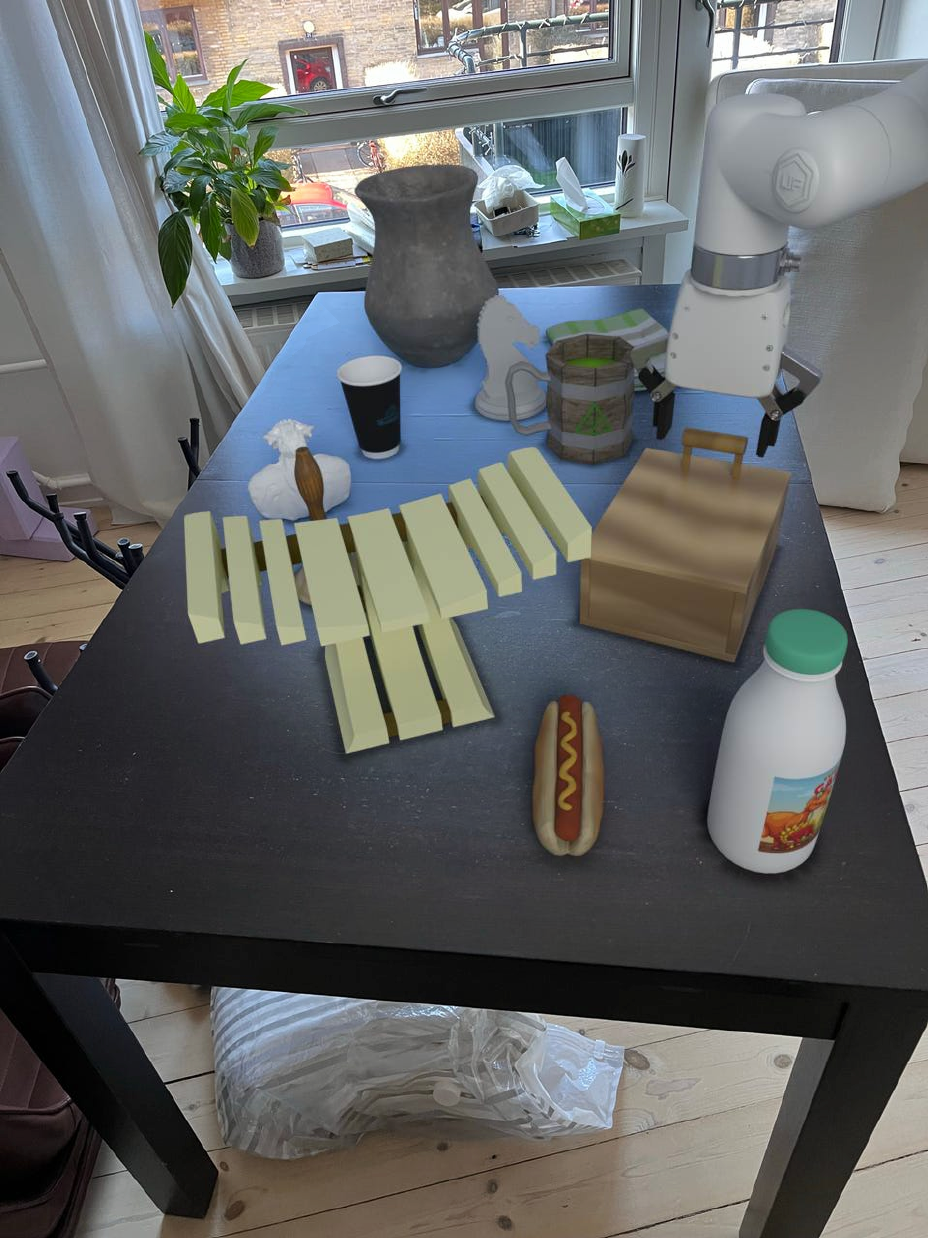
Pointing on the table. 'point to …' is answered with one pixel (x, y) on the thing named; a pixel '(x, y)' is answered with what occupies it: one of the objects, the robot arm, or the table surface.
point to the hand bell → (312, 507)
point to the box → (672, 605)
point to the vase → (425, 263)
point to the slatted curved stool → (390, 588)
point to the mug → (584, 398)
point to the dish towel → (617, 333)
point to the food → (568, 778)
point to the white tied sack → (277, 481)
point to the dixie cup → (374, 403)
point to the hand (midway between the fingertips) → (712, 441)
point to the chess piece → (506, 361)
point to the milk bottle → (781, 747)
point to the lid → (693, 514)
